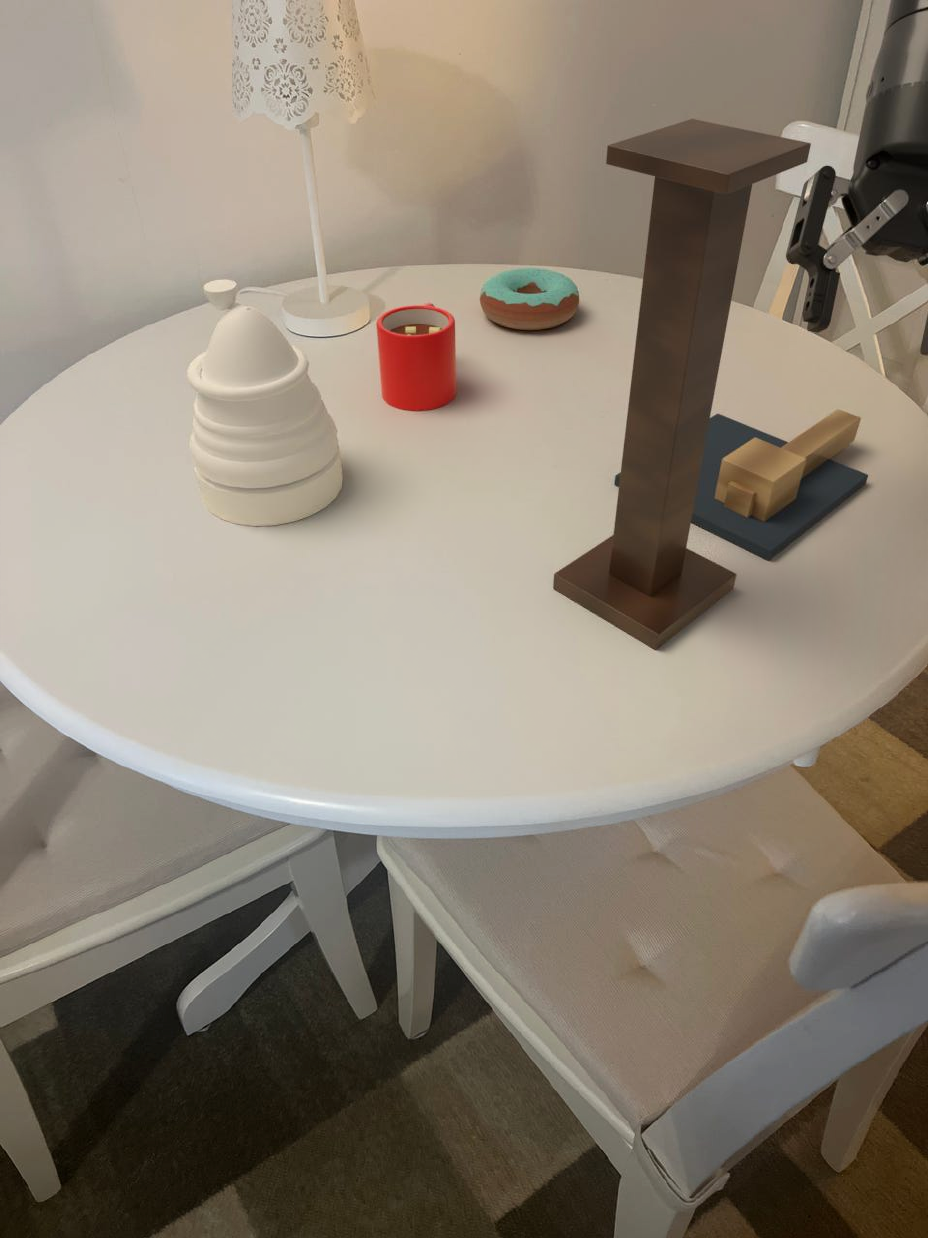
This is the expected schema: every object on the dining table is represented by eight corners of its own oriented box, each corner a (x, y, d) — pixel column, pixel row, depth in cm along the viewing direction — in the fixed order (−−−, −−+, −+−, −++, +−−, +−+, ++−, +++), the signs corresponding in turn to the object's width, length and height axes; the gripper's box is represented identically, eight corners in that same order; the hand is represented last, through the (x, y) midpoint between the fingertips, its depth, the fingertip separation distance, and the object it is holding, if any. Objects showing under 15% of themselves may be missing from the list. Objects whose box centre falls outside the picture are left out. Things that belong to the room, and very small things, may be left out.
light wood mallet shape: (867, 445, 86) (879, 406, 84) (760, 524, 77) (770, 483, 74) (819, 426, 89) (829, 388, 86) (710, 500, 80) (718, 460, 77)
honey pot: (170, 496, 83) (118, 301, 71) (269, 435, 91) (237, 250, 79) (276, 543, 78) (238, 339, 66) (371, 473, 85) (353, 280, 74)
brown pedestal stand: (733, 588, 72) (837, 142, 51) (655, 650, 67) (735, 182, 46) (632, 535, 78) (688, 112, 57) (552, 588, 73) (581, 144, 51)
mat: (865, 484, 83) (868, 474, 82) (768, 561, 75) (771, 551, 74) (715, 421, 92) (717, 412, 91) (613, 484, 84) (615, 475, 83)
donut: (598, 313, 112) (601, 280, 109) (533, 345, 106) (535, 311, 103) (524, 287, 118) (525, 256, 116) (459, 315, 112) (458, 283, 109)
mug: (466, 360, 103) (465, 290, 98) (450, 412, 94) (448, 338, 89) (397, 356, 104) (392, 287, 99) (374, 408, 95) (368, 335, 90)
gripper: (852, 54, 59) (802, 309, 60) (1058, 101, 60) (1005, 350, 62) (801, 108, 67) (757, 334, 68) (986, 149, 68) (939, 370, 69)
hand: (875, 341), depth 65 cm, fingers open, 8 cm apart
